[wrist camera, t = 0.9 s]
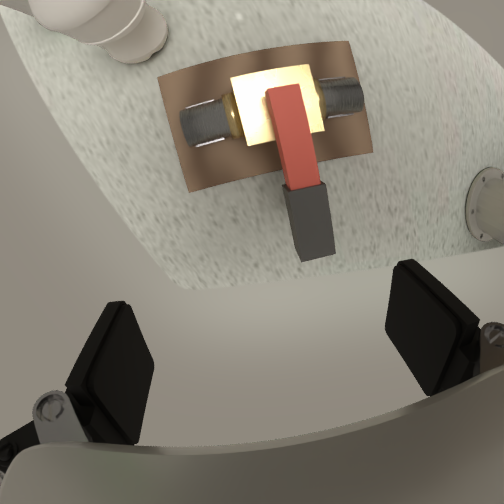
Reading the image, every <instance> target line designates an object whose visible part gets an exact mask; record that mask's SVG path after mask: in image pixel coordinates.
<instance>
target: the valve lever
mask: <svg viewBox="0 0 504 504" xmlns="http://www.w3.org/2000/svg"><path fill="white" fill-rule="evenodd" d="M264 93H265V97H266V101H267V105H268V109H269V113H270V117H271V121H272V125H273V129H274V134H275V138H276V142H277V146H278V151H279V155H280V159H281V164H282V168H283V173H284V178H285V182H286V184H284V185H282V187H283V191H284V196H285V201H286V206H287V210H288V215H289V220H290V225H291V230H292V235H293V240H294V245H295V249H296V251H297V253H298V256H299V258H300V260H301V262H305V261H309V260H313V259H317V258H321V257H325V256H329V255H333V254H336V251H335V243H334V236H333V228H332V221H331V214H330V208H329V201H328V195H327V189H326V184H325V183H323V182H322V181H320V176H319V171H318V166H317V160H316V155H315V150H314V145H313V141H312V136H311V131H310V127H309V122H308V118H307V113H306V109H305V105H304V101H303V97H302V92H301V88H300V85H299V83H297V84H290V85H284V86H279V87H273V88H268V89H267V90H266V91H265V92H264Z"/></svg>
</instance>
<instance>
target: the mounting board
mask: <svg viewBox="0 0 504 504" xmlns="http://www.w3.org/2000/svg"><path fill="white" fill-rule="evenodd" d="M305 64H309V67H310V71H311V75H312V77H315V78H316V79H317V80H318V79H325V78H334V77H345V78H346V77H354V78H356V79H357V80H358V82H359V77H358V73H357V70H356V66H355V62H354V58H353V55H352V51H351V48H350V44H349V41H334V42H319V43H308V44H299V45H291V46H283V47H276V48H270V49H264V50H258V51H253V52H248V53H243V54H238V55H233V56H229V57H225V58H221V59H217V60H213V61H209V62H205V63H201V64H198V65H194V66H191V67H188V68H184V69H181V70H178V71H175V72H172V73H169V74H166V75H163V76H160V77H157V78H158V82H159V86H160V90H161V94H162V98H163V102H164V106H165V109H166V113H167V117H168V121H169V124H170V128H171V132H172V135H173V139H174V143H175V146H176V150H177V153H178V157H179V160H180V164H181V167H182V171H183V174H184V178H185V181H186V184H187V188H188V191H189V193H190V192H194V191H197V190H201V189H205V188H208V187H212V186H216V185H220V184H223V183H227V182H231V181H235V180H239V179H243V178H247V177H251V176H256V175H260V174H264V173H268V172H273V171H277V170H282V169H283V168H282V164H281V159H280V155H279V151H278V146H277V142H276V140H273V141H268V142H263V143H259V144H255V145H250V146H248V145H247V144H246V142H245V138H244V137H241V138H236V139H232V136H229V137H225V139H224V140H220V141H217V142H213V143H209V144H206V145H202V146H199V147H196V146H192V147H189V145H188V144H187V142H186V139H185V137H184V134H183V131H182V127H181V123H180V117H179V112H180V110H183V109H186V107H189V106H192V105H196V104H199V103H203V102H206V101H210V100H218V99H222V97H221V95H222V94H226V93H230V92H233V91H232V87H231V79H230V78H232V77H237V76H241V75H246V74H250V73H255V72H260V71H266V70H271V69H277V68H283V67H290V66H297V65H305ZM359 83H360V82H359ZM323 125H324V130H325V131H320V132H314V133H311V136H312V141H313V145H314V150H315V155H316V160H317V162H320V161H326V160H331V159H336V158H342V157H348V156H353V155H359V154H366V153H372V152H373V147H372V141H371V135H370V129H369V124H368V119H367V113H366V109H365V104H364V107H363V110H362V111H361V112H358V113H354V115H348V116H340V117H333V118H325V120H324V121H323Z"/></svg>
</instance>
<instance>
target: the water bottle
mask: <svg viewBox="0 0 504 504" xmlns="http://www.w3.org/2000/svg"><path fill="white" fill-rule="evenodd" d="M28 2H29V5H30V8H31V11H32V13H33V15H34V17H35V19H36V20H37V21H38V22H39V23H40V24H41V25H42V26H44V27H45V28H47V29H49V30H51V31H57V32H60V33H63V34H65V35H67V36H70V37H72V38H74V39H76V40H78V41H80V42H82V43H84V44H90V45H97V46H100V47H102V48H104V49H105V50H106V51H107V52H108V54H109V55H110V56H111V57H112V58H113V59H115V60H117V61H120V62H123V63H140V62H143V61H146V60H148V59H149V58H150V57H151V55H152V54H153V53H154V52H158V51H159V50H160V49H161V48H162V47H163V46H164V44H165V41H166V39H167V35H168V28H167V24H166V21H165V18H164V17H163V15H162V14H161V13H160V12H159V11H158V10H156V9H155V8H153V7H151V6H149V5H148V4H146V0H28Z"/></svg>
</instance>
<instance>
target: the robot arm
mask: <svg viewBox="0 0 504 504" xmlns="http://www.w3.org/2000/svg"><path fill="white" fill-rule="evenodd" d="M466 221H467V226H468V228H469V231H470V232H471V234H472V235H473V236H474V237H475V238H477V239H478V240H480V241H484V242H485V241H490V240H492V239H496V240H497V241H499V242H500V243H502V244H504V172H503V171H501V170H500V169H497V168H493V167H490V168H486V169H484V170H483V171H481V172H480V173H479V174H478V176H477V177H476V178H475V180H474V182H473V183H472V185H471V188H470V190H469V194H468V197H467V203H466ZM479 321H480V319H479V318H478V317H477V316H476V315H475V314H474V313H473V312H472V311H471V310H470V309H469V308H468V307H467V306H466V305H465V304H463V303H462V302H461V301H460V300H459V299H458V298H457V297H456V296H455V295H454V294H453V293H452V292H451V291H450V290H448V289H447V288H446V287H445V286H444V285H443V284H442V283H441V282H440V281H438V280H437V279H436V278H435V277H434V276H433V275H432V274H430V273H429V272H428V271H427V270H426V269H425V268H423V267H422V266H421V265H420V264H419V263H418V262H416V261H415V260H414V259H408V260H403V261H399V262H398V263H397V266H395V267H394V269H393V276H392V283H391V291H390V298H389V304H388V311H387V316H386V322H385V331H386V333H387V335H388V336H389V338H390V340H391V341H392V343H393V344H394V346H395V347H396V349H397V350H398V352H399V353H400V355H401V356H402V358H403V359H404V361H405V362H406V364H407V366H408V367H409V369H410V370H411V372H412V373H413V375H414V377H415V378H416V380H417V382H418V383H419V385H420V387H421V388H422V390H423V391H424V393H425V394H426V395H427V396H430V397H428V398H426V399H424V400H421V401H419V402H416V403H413V404H411V405H408V406H405V407H403V408H400V409H397V410H394V411H391V412H388V413H385V414H382V415H379V416H376V417H373V418H369V419H366V420H362V421H359V422H355V423H352V424H348V425H345V426H340V427H336V428H332V429H328V430H324V431H319V432H314V433H309V434H304V435H299V436H294V437H288V438H282V439H275V440H268V441H261V442H252V443H244V444H232V445H218V446H198V447H157V446H134V444H137V443H138V442H139V438H140V432H141V427H142V422H143V417H144V413H145V407H146V403H147V398H148V394H149V389H150V385H151V380H152V376H153V372H154V361H153V358H152V356H151V354H150V352H149V349H148V347H147V345H146V343H145V340H144V338H143V335H142V333H141V330H140V328H139V325H138V323H137V320H136V318H135V315H134V313H133V310H132V308H131V306H130V305H129V304H126V303H125V301H115V302H109V303H108V304H107V305H106V307H105V309H104V311H103V312H102V314H101V316H100V317H99V319H98V321H97V323H96V325H95V327H94V328H93V330H92V332H91V334H90V336H89V338H88V339H87V341H86V343H85V345H84V347H83V349H82V351H81V353H80V355H79V357H78V359H77V361H76V363H75V365H74V367H73V369H72V371H71V373H70V376H69V377H68V379H67V381H66V384H65V386H66V387H67V389H66V392H65V393H64V392H62V391H58V390H55V391H50V392H47V393H45V394H43V395H42V396H41V397H40V398H39V399H38V400H37V401H36V403H35V404H34V407H33V411H32V414H33V419H34V420H33V421H31V422H30V423H28V424H26V425H25V426H23V427H21V428H20V429H18V430H16V431H14V432H12V433H11V434H9V435H7V436H6V437H4V438H2V439H1V440H0V504H504V324H501V323H498V322H490V323H486V324H485V325H483V327H482V328H481V329H480V328H479V327H478V324H479Z"/></svg>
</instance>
